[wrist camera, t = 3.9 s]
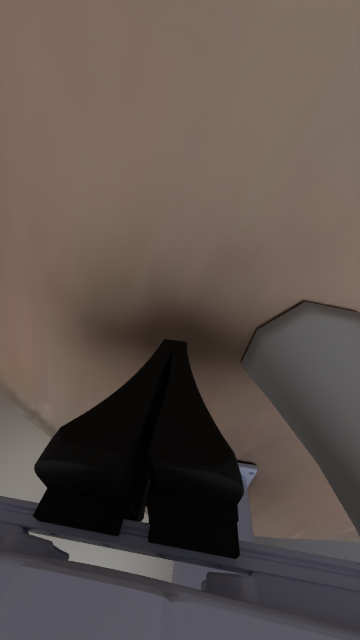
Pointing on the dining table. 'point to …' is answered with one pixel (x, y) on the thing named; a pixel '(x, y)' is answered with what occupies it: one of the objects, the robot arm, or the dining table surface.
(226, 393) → the dining table surface
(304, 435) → the flask
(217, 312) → the dining table surface
